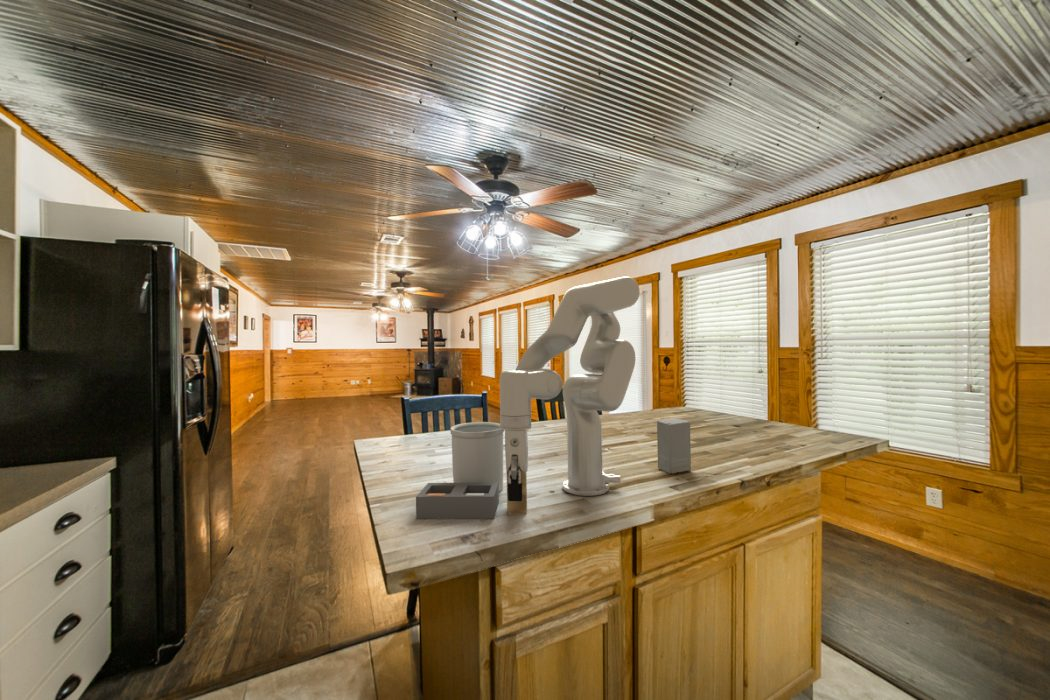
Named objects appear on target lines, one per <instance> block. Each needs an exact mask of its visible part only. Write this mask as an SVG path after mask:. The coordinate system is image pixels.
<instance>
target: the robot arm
mask: <svg viewBox="0 0 1050 700" xmlns="http://www.w3.org/2000/svg"><path fill="white" fill-rule="evenodd" d="M639 297H640V285H639V283H638V282H637V281H636V279H634V278H633V277H630V276H626V275H625V276H621V277H616V278H611V279H610V278H609V279H607V280H602V281H597V282H591V283H587V284H582V285H578V286H577V285H576V286H573V287H572V288H569V289H567V290H566V292H565V293H564V295H563V297H562V299H561V301H560V303H559V304H558V307H557V309H556V311H555V313H554V316H553V318H552V319H551V321H550V323H549V325H548V328H547V330H545V331H544V333H542V334H541V335H540V336H539V337H538V338H537V339H536V340H534V342H533V343H532V344H531V345H530V346H529V347H528V348H527V349H526V351H524V353H523V355H522V357H521V358H520V360H519V362H518V364H517V366H516V368H515V370H504V371H502V372H501V373H500V376H499V413H500V414H499V422H500V423H499V424H500V429H503V430H504V443H505V444H504V446H505V447H504V451H505V452H504V453H505V455H504V456H505V471H506V473H507V472H508V473H509V483H508V501H522V483H521V471H522V472H524V473H526V474H527V472H528V468H529V438H528V437H529V436H528V434H529V433H528V430H531V428H532V400H533V399H536V400H551V399H554V398H556V397H557V396H558V395H559V394H560V393H561V391H562V396H563V397H562V398H563V403H564V407H565V414H566V415H565V416H566V432H567V433H566V437H567V438H566V441H567V443H566V444H567V480H564V481H563V482H562V484H561V485H562V490H564V492H567V493H568V494H570V495H571V494H572V495H575V496H584V497H586V496H587V497H589V496H590V497H593V496H599V495H604V494H605V493H607V492H608V491H609V488H610V486H609V485H610V483H611V484H620V483H621V475H615V474H614V473H609V474H608V473H607V474H606V473H605V472H604V469H603V434H602V433H603V425H602V420H601V416H600V414H599V413H598V411H599V412H613V411H616V410H618V409H619V408H620V406H621V405H622V404H623V402H624V399H625V396H626V393H627V391H628V388H629V384H630V381H631V379H632V377H633V374H634V369H635V366H636V351H635V348H634V346H633V345H632V343H631V342H630V341H628V340H625V339H621V338H620V334H621V325H620V322H619V320H618V318H617V317H616V313H615V312H618V311H621V310H624V309H627V308H630V307H632V306H634V305H635V304H637V301H639ZM589 317H591V326H590V330H589V333H588V335H587V337H586V340H585V343H584V346H583V348H582V351H581V353H580V360H579V363H580V367H581V368H582V369H583V370H584V371H585V372H588V373H576V374H573V375H571V376H569V377H568V378H567V379H566V380H565V382H563V380H562V379H563V378H562V377H561V376H560V374H559V373H558V372H557V371H555V370H553V369H549V368H544V367H545V366H546V365H547V363H548V362H550V361H551V360H552V359H554V358H555V357H558V356H559V355H560V354H562V353H565V352H567V351H569V349H572V348H573V347H574V346H576V344H577V342H578V340H579V337H580V335H581V334H582V332H583V330H584V327H585V325H586V323H587V321H588V318H589ZM563 383H564V384H563ZM517 469H519V470H517ZM518 474H519V475H518Z"/></svg>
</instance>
